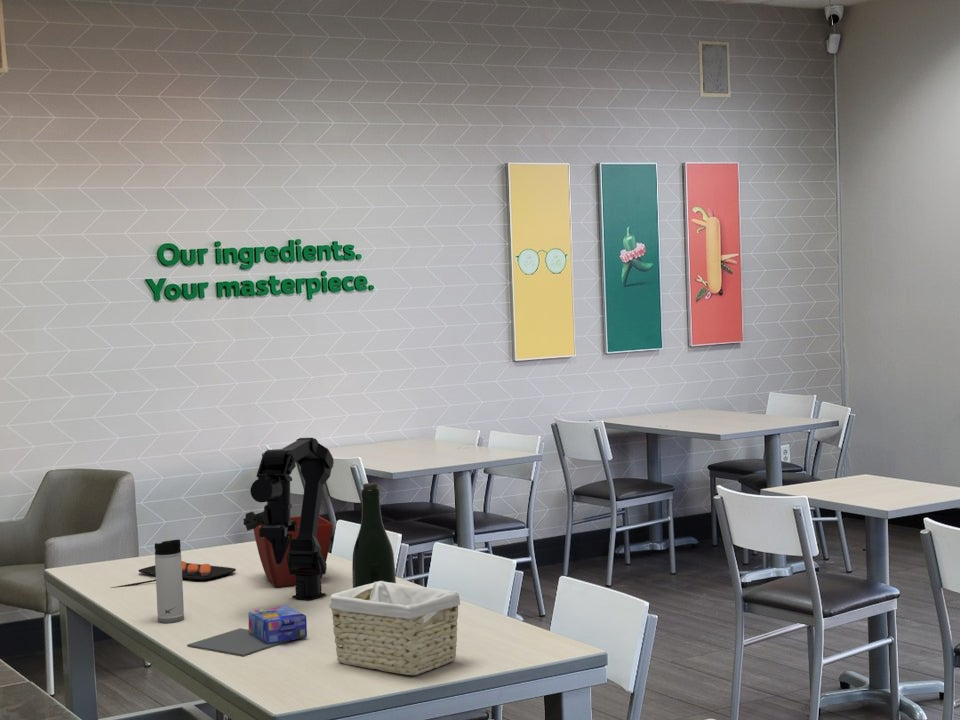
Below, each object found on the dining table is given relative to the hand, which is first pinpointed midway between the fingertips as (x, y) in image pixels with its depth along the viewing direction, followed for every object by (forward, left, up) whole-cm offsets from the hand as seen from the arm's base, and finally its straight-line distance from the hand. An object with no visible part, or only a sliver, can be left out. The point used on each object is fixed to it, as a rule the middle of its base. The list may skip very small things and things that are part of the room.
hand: (278, 563), depth 293 cm
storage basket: (+20, +53, -13) cm, 58 cm away
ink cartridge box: (+14, +10, -9) cm, 20 cm away
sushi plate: (-16, -61, -13) cm, 65 cm away
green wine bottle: (-5, +26, -13) cm, 30 cm away
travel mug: (+17, -21, -13) cm, 30 cm away
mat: (+24, +11, -13) cm, 29 cm away
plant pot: (-30, -25, -13) cm, 41 cm away
